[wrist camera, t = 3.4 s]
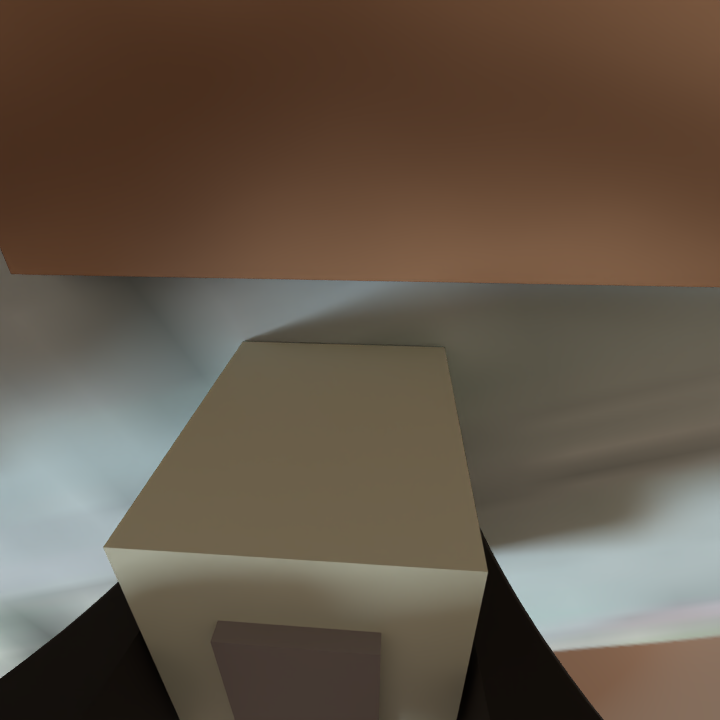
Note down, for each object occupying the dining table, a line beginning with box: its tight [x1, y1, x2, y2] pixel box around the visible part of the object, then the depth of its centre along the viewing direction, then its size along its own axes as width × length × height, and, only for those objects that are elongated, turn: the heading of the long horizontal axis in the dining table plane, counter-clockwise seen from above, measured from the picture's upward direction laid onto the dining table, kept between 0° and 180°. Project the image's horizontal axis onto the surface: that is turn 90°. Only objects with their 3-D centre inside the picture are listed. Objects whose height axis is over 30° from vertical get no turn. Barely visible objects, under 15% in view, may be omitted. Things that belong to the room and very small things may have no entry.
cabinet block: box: [103, 341, 488, 720], centre depth 10 cm, size 8×5×6 cm, turn 0°
